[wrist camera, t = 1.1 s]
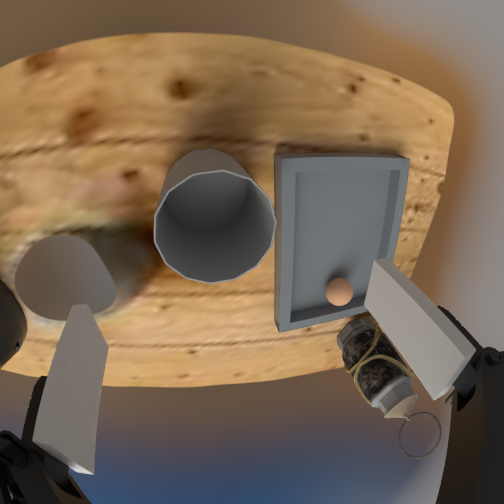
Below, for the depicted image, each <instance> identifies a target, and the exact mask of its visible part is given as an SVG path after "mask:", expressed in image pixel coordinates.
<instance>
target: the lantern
mask: <svg viewBox="0 0 504 504" xmlns="http://www.w3.org/2000/svg"><path fill="white" fill-rule="evenodd" d="M375 328H376V329H375ZM375 328H374V325H373V324H372V323H371V321H369V320H365V319H362V318H359V319H357V320H354V321H352V322H350V323H348V324H347V325H346V326H345V328H344V329H343V330H342V331H341V332H340V334H339V335H338V336H337V344H338V346H339V348H340V349H341V350H342V351H343V354H342V358H343V361H344V363H345V364H344V367H345V370H346V371H347V372H348V373H349V372H350V373H351V374H352V376H353V377H354V382H355V384H356V386H357V388H358V390H359V391H360V393H361V395H362V396H363V397H364V399H365V400H366V401H367V402H368V403H369V404H371V406H372V407H377V408H381V410H382V411H383V412H384V414H385V418H392V417H398V418H406V419H407V420H411V417H413V416H415V415H418V414H428V415H430V416H432V417H433V418H434V419H435V420H436V421H437V423H438V425H439V429H440V436H439V439H438V442H437V444H436V446H435V447H434V448H433V450H431V452H433V451H434V450H435V448H436V447H437V445H438V443H439V441H440V438H441V426H440V423H439V421H438V419H437V418H436V417H435V416H434V415H432V414H430V413H426V412H420V413H416V414H413V415H410V413H411V410H412V408H413V405H414V403H415V401H416V399H417V397H418V395H417V394H415V393H414V391H413V389H412V387H411V382H412V380H413V378H414V376H415V374H414V371H413V370H411V371H409V370H408V369H407V366H406V365H405V363H404V362H403V361H402V359H401V358H400V356H399V355H398V353H397V352H396V350H395V349H394V347H393V346H392V344H391V343H390V342H389V340H388V339H387V337H386V336H385V334H384V333H383V332H382V331H381V329H380V327H379V326H377V325H376V326H375ZM408 416H409V418H407V417H408ZM407 420H406V421H405V422H404V423H403V425H402V427H401V428H400V431H399V436H398V440H399V446H400V448H401V450H402V451H403V453H404V454H406V455H407V456H409V457H412V458H422V457H425V456H427V455H429V454H430V453H431V452H429V453H427V454H426V455H423V456H419V457H414V456H411V455H409V454H407V453H406V452H405V451H404V450H403V448H402V446H401V443H400V434H401V430H402V428H403V426H404V424H405V423H406V422H407Z"/></svg>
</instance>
